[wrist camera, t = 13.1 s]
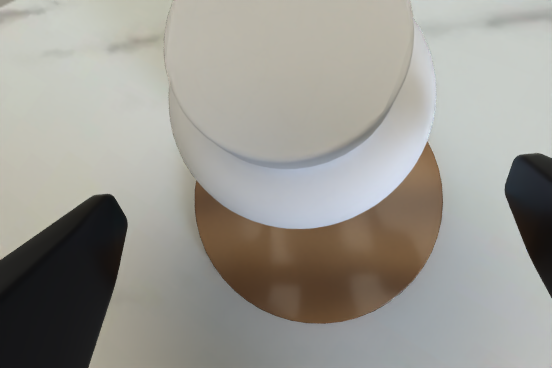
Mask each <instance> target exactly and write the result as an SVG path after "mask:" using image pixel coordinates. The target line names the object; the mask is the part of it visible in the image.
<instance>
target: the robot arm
mask: <svg viewBox="0 0 552 368" xmlns="http://www.w3.org/2000/svg"><path fill="white" fill-rule="evenodd" d="M505 195H506V198H507V201H508V203H509V206H510V208H511V211H512V214H513V216H514V219H515V221H516V224H517V226H518V229H519V231H520V234H521V237H522V239H523V242H524V244H525V247H526V249H527V251H528V254H529V256H530V258H531V260H532V262H533V264H534V266H535V268H536V270H537V272H538V274H539V275H540V277H541V279H542V281H543V283H544V285H545V287H546V288H547V290H548V292H549V294H550V296H551V298H552V158H550V157H548V156H545V155H543V154H539V153H534V154H523V155H519V156H517V157H516V158H515V159H514V161H513V163H512V166H511V169H510V172H509V175H508V178H507V181H506V184H505ZM127 227H128V223H127V218H126V216H125V214H124V213H123V211H122V209H121V208H120V206H119V204H118V202H117V201H116V199H115V198H114V196H112V195H111V194H101V195H94V196H92V197H90V198H89V199H87V200H86V201H84V202H83V203H82V204H80V205H79V206H77V207H76V208H74V209H73V210H72V211H70V212H69V213H67V214H66V215H64V216H63V217H62V218H60V219H59V220H57V221H56V222H54V223H53V224H52V225H50V226H49V227H47V228H46V229H44V230H43V231H42V232H40V233H39V234H37V235H36V236H34V237H33V238H32V239H30V240H29V241H27V242H26V243H24V244H23V245H22V246H20V247H19V248H17V249H16V250H14V251H13V252H11V253H10V254H9V255H7V256H6V257H4V258H3V259H1V260H0V368H88V367H89V364H90V361H91V358H92V354H93V351H94V348H95V345H96V342H97V339H98V336H99V333H100V330H101V327H102V324H103V321H104V318H105V315H106V312H107V309H108V305H109V302H110V299H111V296H112V293H113V290H114V287H115V283H116V279H117V275H118V270H119V266H120V261H121V256H122V251H123V247H124V242H125V237H126V232H127Z"/></svg>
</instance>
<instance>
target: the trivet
mask: <svg viewBox="0 0 552 368" xmlns="http://www.w3.org/2000/svg"><path fill="white" fill-rule="evenodd" d="M442 207H443V196H442V183H441V178H440V173H439V168H438V165H437V162H436V160H435V157H434V154H433V151H432V149H431V147H430V145H429V143H428V141H427V143H426V145H425V147H424V150H423V152H422V154H421V155H420V157H419V159H418V161H417V163H416V164H415V166H414V167H413V169H412V170H411V171H410V173H409V174H408V175H407V176H406V178H405V179H404V180H403V181H402V182H401V183H400V185H399V186H398V187H397V188H396V189H395V190H394V191H393V192H391V193H390V194H389V195H388V196H387V197H386V198H384V199H383V200H382V201H381V202H379V203H378V204H377V205H375V206H373V207H372V208H370V209H368V210H367V211H365V212H363V213H361V214H359V215H357V216H355V217H353V218H351V219H348V220H345V221H343V222H340V223H337V224H333V225H329V226H324V227H318V228H310V229H286V228H278V227H273V226H268V225H264V224H261V223H258V222H255V221H252V220H249V219H247V218H245V217H242V216H240V215H238V214H236V213H234V212H233V211H231V210H229V209H228V208H226V207H225V206H223V205H222V204H221V203H219V202H218V201H217V200H216V199H214V198H213V197H212V196H211V195H210V194H209V193H208V192H207V191H206V190H205V189H204V188H203V187H202V186H201V185H200V184H199V183H198V181H197V180H196V186H195V213H196V221H197V226H198V230H199V234H200V238H201V240H202V243H203V245H204V248H205V250H206V253H207V254H208V256H209V258H210V260H211V262H212V263H213V265H214V267H215V268H216V270H217V271H218V272H219V274H220V275H221V276H222V278H223V279H224V280H225V281H226V282H227V283H228V284H229V285H230V286H231V287H232V289H233V290H234V291H236V292H237V293H238V294H239V295H241V296H242V297H243V298H244V299H246V300H247V301H248V302H250V303H252V304H253V305H255V306H256V307H258V308H260V309H262V310H264V311H266V312H268V313H271V314H273V315H275V316H278V317H281V318H285V319H288V320H291V321H298V322H304V323H334V322H342V321H346V320H350V319H354V318H358V317H360V316H363V315H365V314H368V313H370V312H373V311H375V310H376V309H378V308H380V307H382V306H383V305H385V304H387V303H389V302H390V301H391V300H392V299H394V298H395V297H396V296H398V295H399V294H400V293H401V292H402V291H403V290H404V289H405V288H406V287H407V286H408V285H409V284H410V283H411V282H412V281H413V280H414V279H415V278H416V276H417V275H418V274H419V272H420V271H421V269H422V268H423V267H424V265H425V263H426V261H427V259H428V258H429V256H430V254H431V252H432V250H433V247H434V244H435V242H436V239H437V236H438V232H439V228H440V224H441V219H442Z"/></svg>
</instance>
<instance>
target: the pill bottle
mask: <svg viewBox="0 0 552 368" xmlns="http://www.w3.org/2000/svg"><path fill="white" fill-rule="evenodd" d="M164 60H165V67H166V72H167V76H168V79H169V83H170V85H169V114H170V122H171V127H172V131H173V136H174V139H175V142H176V145H177V147H178V149H179V152H180V154H181V156H182V158H183V160H184V162H185V164H186V165H187V167H188V169H189V170H190V172H191V174H192V175H193V176H194V178H195V179H196V180H197V181H198V183H199V184H200V185H201V186H202V187H203V188H204V189H205V190H206V191H207V192H208V193H209V194H210V195H211V196H212V197H213V198H214V199H216V200H217V201H218V202H219V203H221V204H222V205H223V206H225V207H226V208H228V209H229V210H231V211H233V212H234V213H236V214H238V215H240V216H242V217H245V218H247V219H249V220H252V221H255V222H258V223H261V224H264V225H268V226H273V227H278V228H286V229H310V228H318V227H324V226H329V225H333V224H337V223H340V222H343V221H345V220H348V219H351V218H353V217H355V216H357V215H359V214H361V213H363V212H365V211H367V210H368V209H370V208H372V207H373V206H375V205H377V204H378V203H379V202H381V201H382V200H383V199H384V198H386V197H387V196H388V195H389V194H390V193H391V192H393V191H394V190H395V189H396V188H397V187H398V186H399V185H400V183H401V182H402V181H403V180H404V179H405V178H406V176H407V175H408V174H409V173H410V171H411V170H412V169H413V167H414V166H415V164H416V163H417V161H418V159H419V157H420V155H421V154H422V152H423V150H424V147H425V145H426V143H427V140H428V137H429V134H430V131H431V128H432V124H433V119H434V114H435V107H436V78H435V71H434V65H433V61H432V57H431V53H430V50H429V47H428V44H427V42H426V40H425V38H424V36H423V33H422V31H421V29H420V27H419V25H418V24H417V22H416V21H415V19H414V18H413V12H412V7H411V3H410V0H173V2H172V5H171V8H170V11H169V13H168V17H167V21H166V27H165V34H164Z"/></svg>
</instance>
